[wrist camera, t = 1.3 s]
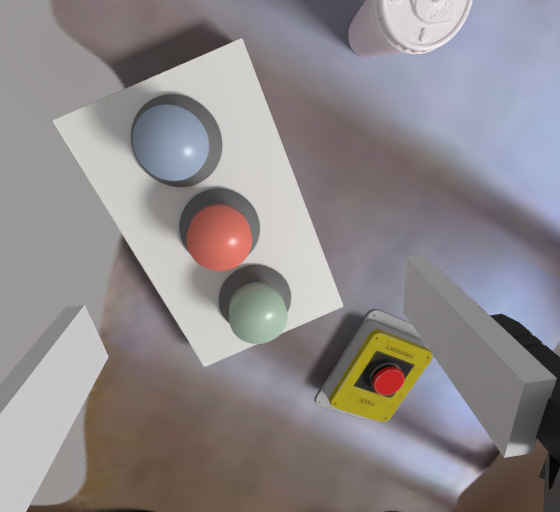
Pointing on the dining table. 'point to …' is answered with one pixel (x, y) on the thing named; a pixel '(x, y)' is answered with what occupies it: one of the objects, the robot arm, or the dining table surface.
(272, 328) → the sage-green button
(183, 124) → the slate-blue button
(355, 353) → the emergency button
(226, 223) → the red button
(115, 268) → the dining table surface
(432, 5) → the smoothie
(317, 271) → the button panel
